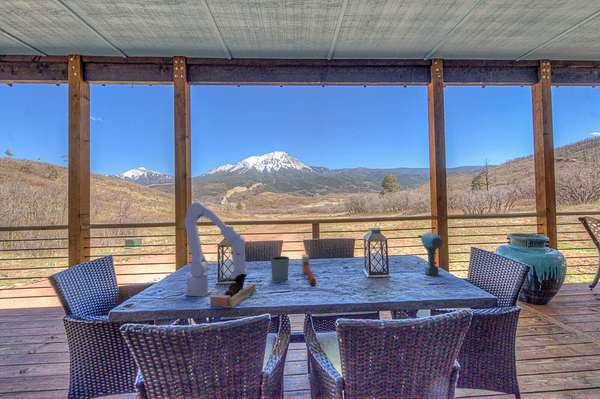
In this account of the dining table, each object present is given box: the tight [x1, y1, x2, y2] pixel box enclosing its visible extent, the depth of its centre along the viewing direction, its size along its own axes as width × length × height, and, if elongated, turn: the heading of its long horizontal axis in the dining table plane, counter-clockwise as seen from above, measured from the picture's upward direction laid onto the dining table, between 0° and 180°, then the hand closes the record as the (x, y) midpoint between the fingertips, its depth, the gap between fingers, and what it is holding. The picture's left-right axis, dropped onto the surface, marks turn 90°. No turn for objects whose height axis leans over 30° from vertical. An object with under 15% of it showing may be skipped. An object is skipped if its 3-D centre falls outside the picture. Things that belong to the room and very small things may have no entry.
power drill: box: [418, 232, 443, 277], centre depth 175 cm, size 28×9×23 cm, turn 179°
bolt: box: [224, 282, 241, 297], centre depth 139 cm, size 6×5×15 cm
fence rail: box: [228, 283, 256, 309], centre depth 139 cm, size 2×23×4 cm, turn 164°
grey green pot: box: [270, 255, 290, 283], centre depth 169 cm, size 10×10×12 cm
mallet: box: [301, 253, 317, 286], centre depth 170 cm, size 11×4×30 cm
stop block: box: [210, 293, 231, 308], centre depth 130 cm, size 8×3×4 cm, turn 74°
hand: (240, 289), depth 148 cm, fingers closed
